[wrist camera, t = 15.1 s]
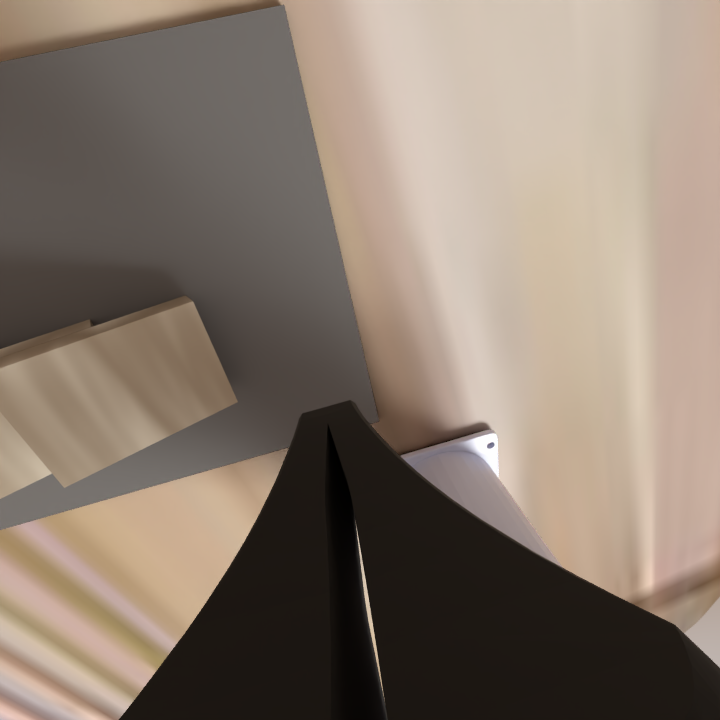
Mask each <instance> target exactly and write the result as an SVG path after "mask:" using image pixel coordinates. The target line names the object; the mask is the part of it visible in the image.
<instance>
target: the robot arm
mask: <svg viewBox="0 0 720 720" xmlns="http://www.w3.org/2000/svg"><path fill="white" fill-rule="evenodd" d="M490 442H491V443H490ZM488 443H490V444H488ZM355 520H356V522H355ZM356 526H357V531H358V537H359V543H360V548H361V554H362V560H363V566H364V572H365V578H366V584H367V590H368V596H369V602H370V608H371V615H372V621H373V627H374V633H375V640H376V646H377V652H378V659H379V666H380V672H381V679H382V686H383V691H382V687H381V682H380V677H379V672H378V667H377V662H376V657H375V652H374V647H373V643H372V638H371V633H370V628H369V623H368V617H367V611H366V604H365V598H364V589H363V581H362V573H361V564H360V556H359V547H358V539H357V531H356ZM383 692H384V696H383ZM384 699H385V701H384ZM119 720H720V668H719V667H718V666H717V665H716V664H715V663H714V662H713V661H712V660H711V659H710V658H709V657H708V656H707V655H706V654H705V653H704V652H703V651H702V650H701V649H700V648H699V647H697V646H696V645H695V644H694V643H693V642H692V641H691V640H690V639H689V638H688V637H687V636H686V635H685V634H684V633H683V632H682V631H681V630H680V629H679V628H678V627H677V626H676V625H674V624H672V623H670V622H668V621H666V620H664V619H662V618H660V617H658V616H656V615H654V614H652V613H650V612H648V611H646V610H644V609H642V608H639V607H637V606H635V605H633V604H631V603H629V602H627V601H625V600H623V599H621V598H619V597H617V596H615V595H613V594H611V593H609V592H607V591H606V590H604V589H602V588H600V587H598V586H596V585H594V584H592V583H590V582H588V581H586V580H584V579H582V578H580V577H578V576H577V575H575V574H573V573H571V572H569V571H568V570H566V569H564V568H563V567H562V566H561V564H560V563H559V562H558V560H557V559H556V557H555V556H554V555H553V553H552V552H551V550H550V549H549V548H548V546H547V545H546V544H545V542H544V541H543V539H542V538H541V537H540V535H539V534H538V532H537V531H536V530H535V528H534V527H533V525H532V524H531V523H530V521H529V520H528V518H527V517H526V516H525V514H524V513H523V511H522V510H521V509H520V507H519V506H518V505H517V503H516V502H515V500H514V499H513V498H512V496H511V495H510V493H509V492H508V491H507V489H506V488H505V486H504V485H503V484H502V482H501V481H500V479H499V465H498V436H497V434H496V433H495V432H494V431H493V430H491V429H490V430H485V431H482V432H478V433H475V434H472V435H468V436H465V437H461V438H458V439H455V440H451V441H448V442H444V443H441V444H438V445H434V446H431V447H427V448H424V449H421V450H417V451H414V452H410V453H407V454H404V455H399V454H397V453H396V452H395V451H394V450H393V449H392V448H391V447H390V446H389V444H388V443H387V442H386V441H385V440H384V439H383V438H382V437H381V436H380V435H379V434H378V433H377V432H376V431H375V430H374V428H373V427H372V426H371V425H370V424H369V422H368V421H367V420H366V419H365V417H364V416H363V415H362V413H361V412H360V410H359V409H358V407H357V405H356V403H355V402H353V401H351V400H348V401H345V402H341V403H337V404H334V405H330V406H327V407H323V408H320V409H316V410H312V411H309V412H305V413H302V415H301V416H300V418H299V420H298V424H297V427H296V430H295V433H294V436H293V439H292V442H291V444H290V447H289V450H288V452H287V455H286V457H285V460H284V462H283V465H282V467H281V469H280V472H279V474H278V477H277V479H276V481H275V483H274V485H273V487H272V489H271V492H270V494H269V496H268V498H267V500H266V502H265V504H264V506H263V508H262V510H261V512H260V514H259V516H258V518H257V520H256V522H255V523H254V525H253V527H252V529H251V531H250V533H249V534H248V536H247V538H246V540H245V542H244V543H243V545H242V547H241V548H240V550H239V552H238V553H237V555H236V557H235V558H234V560H233V562H232V563H231V565H230V567H229V568H228V570H227V571H226V573H225V574H224V576H223V577H222V579H221V581H220V582H219V584H218V585H217V587H216V588H215V590H214V591H213V593H212V594H211V596H210V597H209V599H208V601H207V602H206V604H205V605H204V607H203V608H202V609H201V611H200V612H199V614H198V615H197V617H196V618H195V620H194V621H193V622H192V624H191V625H190V627H189V628H188V630H187V631H186V632H185V634H184V635H183V636H182V638H181V639H180V640H179V642H178V643H177V644H176V646H175V647H174V648H173V650H172V651H171V652H170V654H169V655H168V656H167V658H166V659H165V660H164V662H163V663H162V664H161V666H160V667H159V668H158V670H157V671H156V672H155V674H154V675H153V676H152V678H151V679H150V680H149V682H148V683H147V684H146V686H145V687H144V688H143V690H142V691H141V692H140V694H139V695H138V696H137V697H136V699H135V700H134V701H133V703H132V704H131V705H130V706H129V708H128V709H127V710H126V712H125V713H124V714H123V715H122V716H121V718H120V719H119Z"/></svg>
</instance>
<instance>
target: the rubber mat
mask: <svg viewBox="0 0 720 720" xmlns="http://www.w3.org/2000/svg"><path fill="white" fill-rule="evenodd" d="M185 295H186V296H187V297H188V298H190V299H191V300H192V301H193V302H194V305H195V307H196V309H197V311H198V314H199V316H200V318H201V320H202V323H203V325H204V327H205V329H206V332H207V334H208V336H209V338H210V341H211V343H212V345H213V347H214V349H215V352H216V354H217V356H218V358H219V361H220V363H221V365H222V367H223V370H224V372H225V374H226V376H227V379H228V381H229V383H230V385H231V388H232V390H233V392H234V394H235V397H236V399H237V401H238V402H237V403H235V404H233V405H231V406H229V407H227V408H225V409H223V410H221V411H219V412H217V413H215V414H213V415H211V416H209V417H206V418H204V419H202V420H200V421H198V422H196V423H194V424H192V425H190V426H188V427H186V428H184V429H182V430H180V431H178V432H176V433H174V434H172V435H170V436H168V437H166V438H164V439H162V440H160V441H158V442H156V443H154V444H152V445H150V446H148V447H146V448H144V449H142V450H140V451H138V452H136V453H134V454H132V455H130V456H128V457H126V458H124V459H122V460H120V461H118V462H116V463H114V464H112V465H110V466H108V467H106V468H104V469H102V470H100V471H98V472H96V473H94V474H91V475H89V476H87V477H85V478H83V479H81V480H79V481H77V482H75V483H73V484H71V485H69V486H67V487H65V488H64V487H63V486H62V485H61V484H60V482H59V481H58V480H57V479H56V478H55V476H54V475H53V474H50V475H48V476H46V477H44V478H42V479H40V480H38V481H36V482H34V483H32V484H30V485H28V486H26V487H24V488H22V489H19V490H17V491H15V492H13V493H11V494H9V495H7V496H5V497H3V498H1V499H0V530H2V529H5V528H9V527H12V526H16V525H19V524H23V523H26V522H30V521H33V520H37V519H40V518H44V517H47V516H51V515H54V514H58V513H61V512H65V511H68V510H72V509H75V508H79V507H82V506H86V505H89V504H93V503H96V502H100V501H103V500H107V499H110V498H114V497H117V496H121V495H124V494H128V493H131V492H134V491H138V490H141V489H145V488H148V487H152V486H155V485H159V484H162V483H166V482H169V481H173V480H176V479H180V478H183V477H187V476H190V475H194V474H197V473H201V472H204V471H208V470H211V469H215V468H218V467H222V466H225V465H229V464H232V463H236V462H239V461H243V460H246V459H250V458H253V457H257V456H260V455H264V454H267V453H271V452H274V451H278V450H281V449H285V448H288V447H290V444H291V442H292V439H293V436H294V433H295V430H296V427H297V424H298V420H299V418H300V416H301V415H302V413H305V412H309V411H312V410H316V409H320V408H323V407H327V406H330V405H334V404H337V403H341V402H345V401H348V400H351V401H353V402H355V403H356V405H357V407H358V409H359V410H360V412H361V413H362V415H363V416H364V417H365V419H366V420H367V421H368V422H369V424H372V423H375V422H379V418H378V414H377V410H376V405H375V401H374V396H373V392H372V388H371V383H370V379H369V375H368V370H367V366H366V361H365V357H364V353H363V348H362V344H361V339H360V335H359V331H358V326H357V322H356V318H355V313H354V309H353V304H352V300H351V296H350V291H349V287H348V282H347V278H346V274H345V269H344V265H343V261H342V256H341V252H340V247H339V243H338V239H337V234H336V230H335V226H334V221H333V217H332V212H331V208H330V204H329V199H328V195H327V190H326V186H325V182H324V177H323V173H322V169H321V164H320V160H319V155H318V151H317V147H316V142H315V138H314V133H313V129H312V125H311V120H310V116H309V112H308V107H307V103H306V98H305V94H304V90H303V85H302V81H301V76H300V72H299V68H298V63H297V59H296V55H295V50H294V46H293V41H292V37H291V33H290V28H289V24H288V20H287V15H286V11H285V6H284V5H280V6H275V7H270V8H265V9H260V10H255V11H250V12H246V13H241V14H236V15H231V16H226V17H221V18H216V19H211V20H206V21H201V22H196V23H191V24H186V25H181V26H176V27H171V28H166V29H161V30H156V31H151V32H146V33H141V34H137V35H132V36H127V37H122V38H117V39H112V40H107V41H102V42H97V43H92V44H87V45H82V46H77V47H72V48H67V49H62V50H57V51H52V52H47V53H42V54H37V55H32V56H28V57H23V58H18V59H13V60H8V61H3V62H0V349H2V348H5V347H8V346H11V345H14V344H17V343H20V342H23V341H26V340H29V339H32V338H35V337H38V336H41V335H44V334H47V333H50V332H53V331H56V330H59V329H62V328H65V327H68V326H71V325H74V324H77V323H80V322H83V321H86V320H89V319H90V320H91V322H92V323H93V325H94V326H96V325H99V324H102V323H105V322H108V321H111V320H114V319H117V318H120V317H123V316H126V315H129V314H132V313H135V312H138V311H141V310H143V309H146V308H149V307H152V306H155V305H158V304H161V303H164V302H167V301H170V300H173V299H176V298H179V297H182V296H185Z"/></svg>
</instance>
